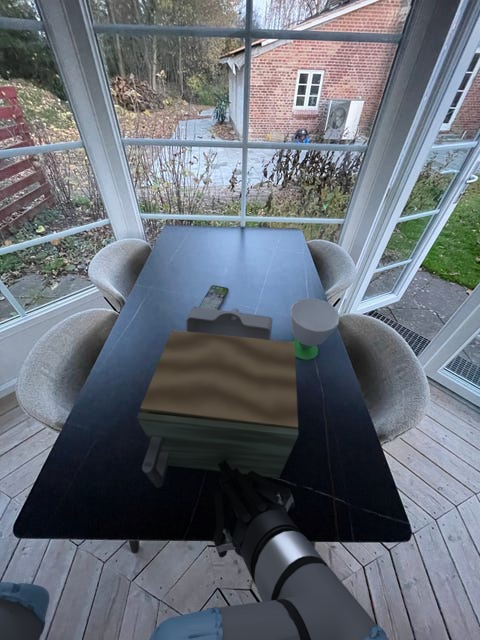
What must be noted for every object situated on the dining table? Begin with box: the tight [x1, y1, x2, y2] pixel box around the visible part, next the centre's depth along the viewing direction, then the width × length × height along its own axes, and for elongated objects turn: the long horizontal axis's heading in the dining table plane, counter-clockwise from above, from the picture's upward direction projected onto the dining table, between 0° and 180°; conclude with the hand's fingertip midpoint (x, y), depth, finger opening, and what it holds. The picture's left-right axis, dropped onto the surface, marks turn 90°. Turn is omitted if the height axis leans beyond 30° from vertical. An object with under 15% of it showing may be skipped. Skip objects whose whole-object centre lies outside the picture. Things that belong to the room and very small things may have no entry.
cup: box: [290, 297, 341, 361], centre depth 80 cm, size 14×14×16 cm
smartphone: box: [198, 284, 229, 310], centre depth 101 cm, size 7×1×15 cm
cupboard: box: [140, 329, 299, 430], centre depth 59 cm, size 18×26×24 cm
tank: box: [185, 306, 273, 340], centre depth 83 cm, size 25×16×12 cm, turn 80°
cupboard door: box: [136, 412, 299, 489], centre depth 49 cm, size 7×26×24 cm, turn 85°
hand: (223, 468), depth 53 cm, fingers closed
